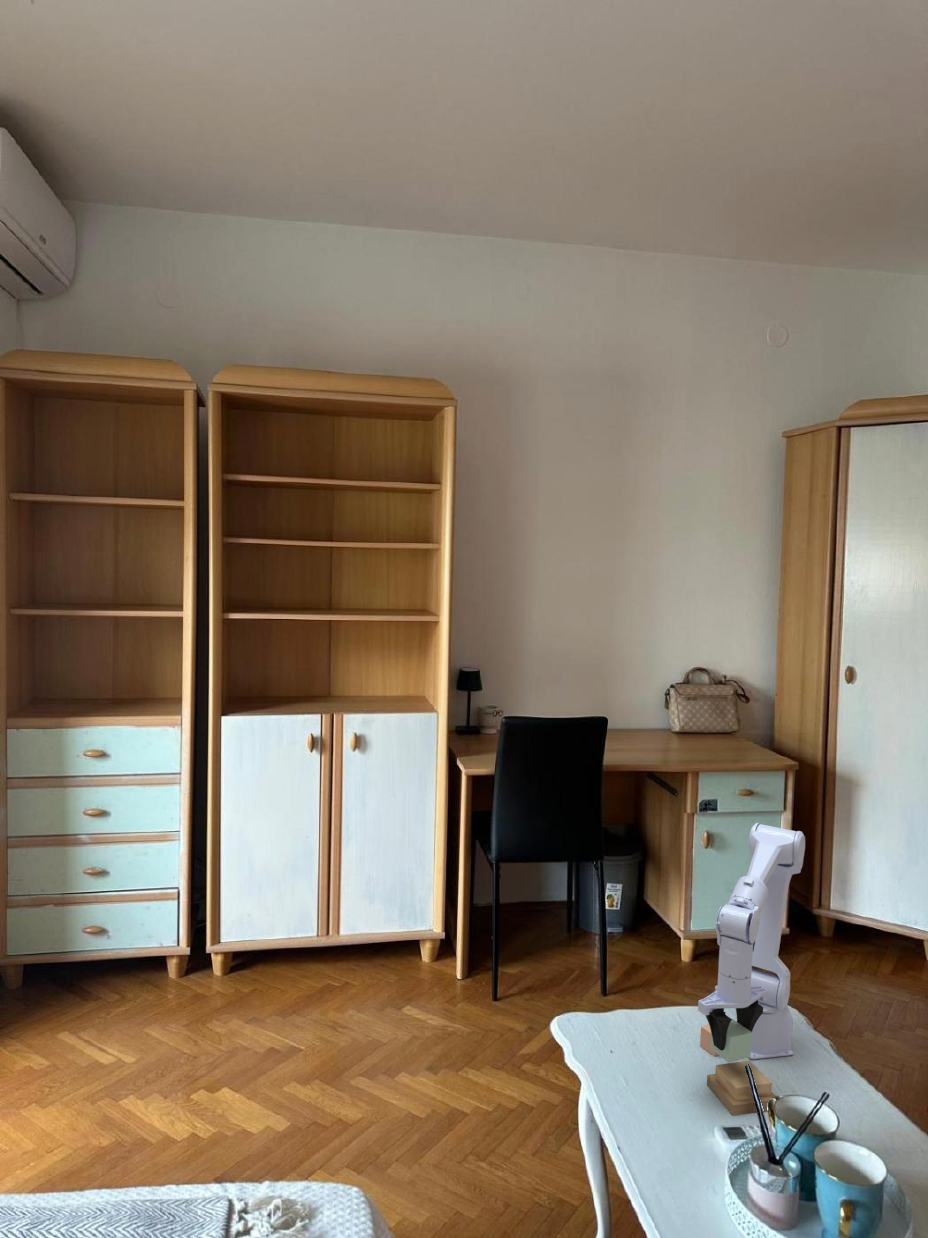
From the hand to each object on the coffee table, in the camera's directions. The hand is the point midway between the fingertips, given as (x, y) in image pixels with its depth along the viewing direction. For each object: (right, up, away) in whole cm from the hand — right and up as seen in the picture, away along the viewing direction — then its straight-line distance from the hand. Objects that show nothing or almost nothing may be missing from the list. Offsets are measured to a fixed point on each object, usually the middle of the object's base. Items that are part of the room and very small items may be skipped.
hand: (730, 1044), depth 157 cm
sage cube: (0, -2, 0) cm, 2 cm away
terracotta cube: (+1, -8, +14) cm, 17 cm away
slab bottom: (+2, -10, -1) cm, 10 cm away
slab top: (+2, -7, -1) cm, 8 cm away
